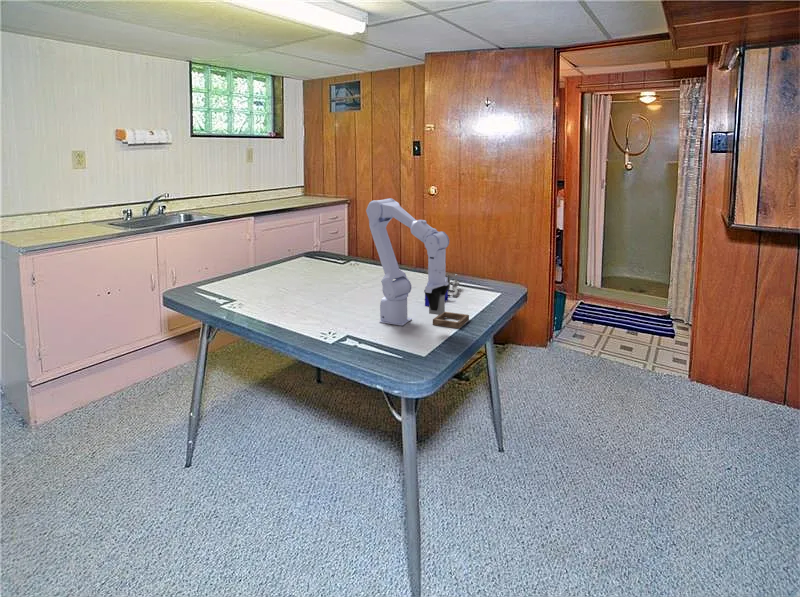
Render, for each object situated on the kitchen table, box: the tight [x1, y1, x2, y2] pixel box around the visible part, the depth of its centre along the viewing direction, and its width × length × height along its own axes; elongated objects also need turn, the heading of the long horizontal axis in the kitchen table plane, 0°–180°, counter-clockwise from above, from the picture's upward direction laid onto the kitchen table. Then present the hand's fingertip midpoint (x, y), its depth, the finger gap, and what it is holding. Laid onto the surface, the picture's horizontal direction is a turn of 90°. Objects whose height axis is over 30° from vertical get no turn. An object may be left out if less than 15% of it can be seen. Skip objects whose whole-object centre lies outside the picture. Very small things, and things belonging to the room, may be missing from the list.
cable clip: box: [424, 290, 449, 308], centre depth 214 cm, size 12×4×6 cm, turn 142°
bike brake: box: [447, 273, 460, 298], centre depth 227 cm, size 14×7×20 cm
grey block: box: [428, 294, 446, 316], centre depth 180 cm, size 4×4×6 cm
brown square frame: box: [432, 311, 470, 330], centre depth 192 cm, size 10×10×2 cm
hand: (436, 308), depth 181 cm, fingers closed on grey block, 4 cm apart
